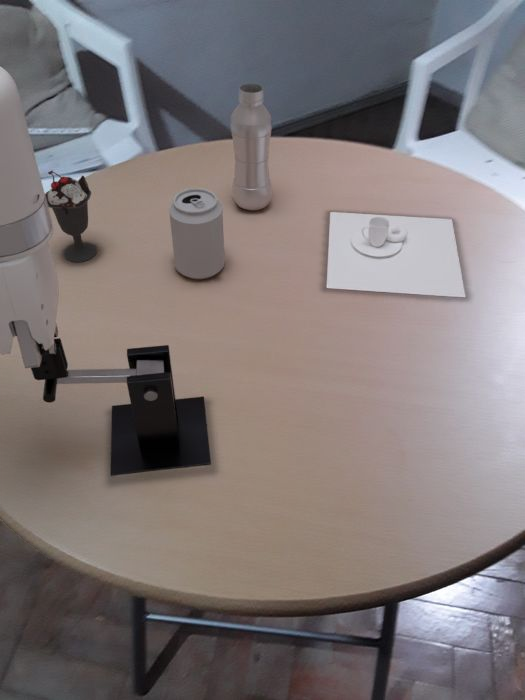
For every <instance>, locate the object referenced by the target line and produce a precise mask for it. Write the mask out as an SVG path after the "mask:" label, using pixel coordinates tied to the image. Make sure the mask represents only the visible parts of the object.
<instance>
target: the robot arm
mask: <svg viewBox="0 0 525 700" xmlns="http://www.w3.org/2000/svg"><path fill="white" fill-rule="evenodd" d="M42 181H43V180H42V177H41V174H40V170H39V166H38V162H37V158H36V155H35V150H34V146H33V143H32V138H31V135H30V131H29V127H28V123H27V120H26V115H25V111H24V108H23V104H22V100H21V96H20V93H19V90H18V87H17V84H16V82H15V80H14V78H13V77H12V75H11V74H10V73H9V72H8V71H7V70H6V69H5V68H3V67H2V66H0V355H2V356H3V355H11V351H12V347H13V343H14V338H15V337H16V338H17V342H18V346H19V350H20V355H21V358H22V362H23V366H24V368H25V369H31V370H30V371H31V372H32V375H33V378H34V380H36V381H45V380H46V379H56V378H65V377H66V376H67V370H68V367H69V363H68V360H67V359H68V358H67V356H66V353H65V349H64V346H63V342H62V339H61V338H60V337H59V330H58V324H57V316H58V306H59V295H60V287H59V284H60V283H59V279H58V274H57V273H58V272H57V268H56V264H55V261H54V257H53V254H52V250H51V248H50V244H49V242H50V241H51V239H52V238H53V235H54V230H55V228H54V225H53V219H52V216H51V212H50V207H48V204H47V200H46V196H45V194H46V192H45V190H44V186H43V182H42ZM58 337H59V338H58Z"/></svg>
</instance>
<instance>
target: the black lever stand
mask: <svg viewBox="0 0 525 700" xmlns="http://www.w3.org/2000/svg"><path fill="white" fill-rule="evenodd" d="M126 357H127V363H128V369H137V360H163V361H164V373H155V374H144V375H134V376H127V383H126V386H127V392H128V396H129V402H130V403H125V404H116V405H111V430H110V431H111V433H110V434H111V435H110V436H111V437H110V476H120V475H130V474H138V473H139V474H140V473H146V472H147V473H149V472H156V471H165V470H175V469H183V468H185V469H186V468H192V467H202V466H210V465H212V462H211V453H210V442H209V433H208V423H207V416H206V415H207V413H206V405H205V404H206V403H205V396H195V397H186V398H176V392H175V384H174V377H173V375H174V374H173V369H172V361H171V360H172V359H171V352H170V346H169V344H164V345H154V346H153V345H151V346H142V347H131V348H127V349H126Z"/></svg>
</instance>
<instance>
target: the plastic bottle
mask: <svg viewBox="0 0 525 700" xmlns="http://www.w3.org/2000/svg"><path fill="white" fill-rule="evenodd" d="M264 91H265V90H264V86H263V85H261V84H259V83H255V82H246V83H243V84H241V85H240V86H239V87H238V96H237V100H238V102H239V103H238V105H237V106H236V107H235V108H234V110H233V112H232V113H231V116H230V118H229V119H230V120H229V126H230V127H229V128H230V131H231V132H230V133H231V137H232V138H231V139H232V144H233V153H234V174H233V175H234V177H233V181H232V188H231V189H232V190H231V192H232V197H233V200H234V202H235V203H236V205H237V206H238V207H240V208H241V209H243V210H246V211H247V210H248V211H258V210H262V209H264V208H266V207H267V206H268V205H269V204H270V202H271V200H272V195H273V188H272V182H271V181H272V180H271V178H270V166H269V158H270V157H269V154H270V143H271V135H272V129H273V120H272V117H271V114H270V111H269V110H268V108H266V106H265V104H264V102H265V95H264V93H265V92H264Z"/></svg>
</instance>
